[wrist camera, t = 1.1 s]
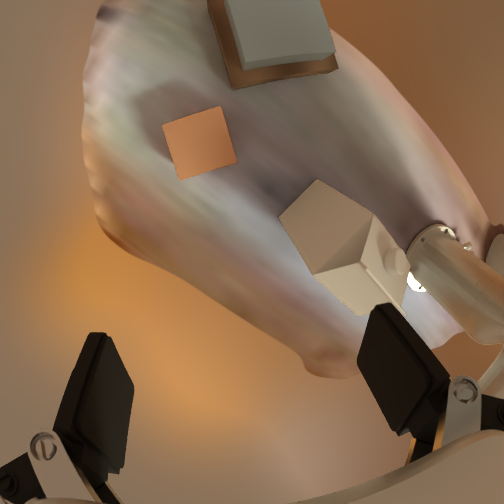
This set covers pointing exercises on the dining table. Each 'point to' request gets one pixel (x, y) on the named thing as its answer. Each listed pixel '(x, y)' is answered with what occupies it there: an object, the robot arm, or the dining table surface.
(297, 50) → the grey square block
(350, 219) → the milk carton
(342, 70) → the dining table surface
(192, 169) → the orange cube
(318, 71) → the base block
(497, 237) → the lumpy-topped squat cylinder
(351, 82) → the dining table surface
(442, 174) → the dining table surface
